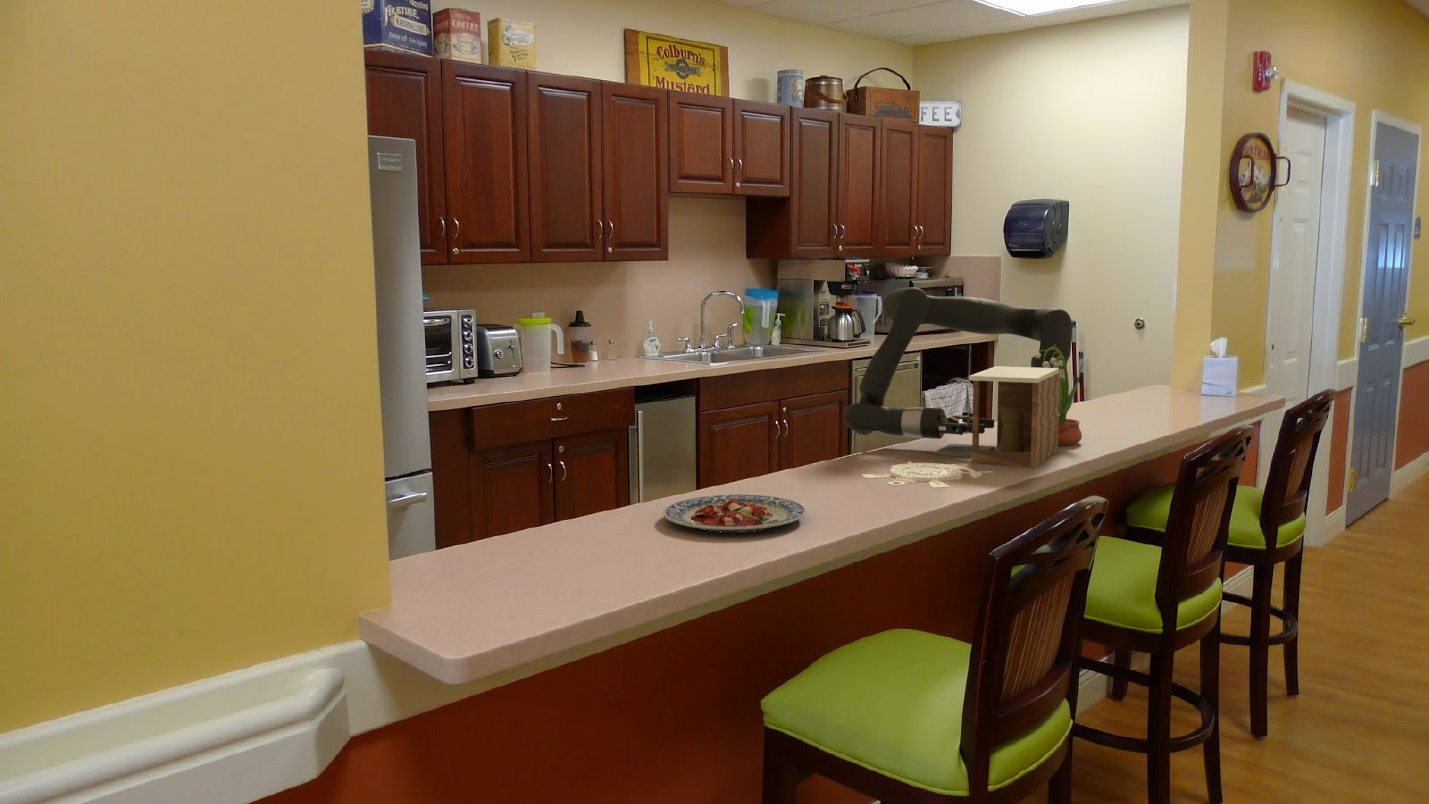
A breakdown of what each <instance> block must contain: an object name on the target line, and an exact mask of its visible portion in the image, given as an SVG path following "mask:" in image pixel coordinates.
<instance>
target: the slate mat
mask: <svg viewBox="0 0 1429 804" xmlns="http://www.w3.org/2000/svg"><path fill="white" fill-rule="evenodd" d="M979 449H981V450H995V446H992V445H980V444H979ZM936 455H938V456H948V457H949V456H951V457H962V458H963V457H965V458H972V444H962V443H948V444H947V445H945V446H942V447H941V448H939V449H936Z"/></svg>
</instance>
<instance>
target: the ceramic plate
mask: <svg viewBox="0 0 1429 804" xmlns="http://www.w3.org/2000/svg"><path fill="white" fill-rule="evenodd" d="M805 514H806V507H805V506H804V505H802V504H800V503H798V502H796V501H794V500H792V499H791V500H790V499H787V498H782V497H776V496H772V495H771V496H770V495H763V494H762V495H761V494H743V493H742V494H741V493H740V494H738V493H737V494H735V493H734V494H733V493H732V494H715V495H714V494H713V495H707V496H706V495H705V496H698V497H692V498H686V499H683V500H679V501H677V502H673V503H672V504H670V505H667V506H666V507H665V508H664V509H663V511H662V515H663V516H664V518H665V519H666V520H667V521H670V522H671V523H675V524H678V525H680V526H684V527H688V528H694V529H697V528H699V529H698V530H701V529H705V530H704V531H706V530H711V531H710V532H712V531H722V532H721V533H725V532H738V533H741V532H740V531H752V532H754V531H753V530H759V531H761V530H760V529H765V530H767V529H766V528H769V529H771V528H770V527H772V528H774V526H775V527H779V526H784V525H786V524H790V523H794V522H795V521H798V520H799V519H801V518H803V517H804V516H805ZM689 519H691V520H693V521H694V523H692V522H691V520H689Z"/></svg>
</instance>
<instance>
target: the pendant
mask: <svg viewBox="0 0 1429 804" xmlns="http://www.w3.org/2000/svg"><path fill="white" fill-rule="evenodd" d="M962 470H965V471H962ZM889 471H890V472H889V473H875V474H874V473H869V474H868V473H867V474H864V473H863V474H861V477H863V478H864V479H866V480H867V479H880V478H881V479H882V478H885V479H886V478H890V477H894V478H892V479H891V481H889V482H887V484H888V485H890V486H896V485H899V486H905V485H906V484H912V485H913V484H916V483H917V482H928V484H929V487H930V488H931V489H946V488H949V489H950V488H951V486H950V485H949V484H947V483H945V482H947V481H955V480H960V479H963V474H968V475H969V476H970V477H972V478H973V479H976V478H979V477H981V476H982V475H983V474H984V473H987V474H988V473H989V474H990V473H993V470H987V471H986V470H985V471H976V470H974V469H972V468H970V467H966V466H963V465H962V466H960V465H957V463H952V464H947V463H946V464H945V463H934V462H912V461H911V460H909V462H907V463H902V462H901V463H900V464H894V465H891V466H890V470H889Z"/></svg>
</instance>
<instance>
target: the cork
mask: <svg viewBox="0 0 1429 804" xmlns="http://www.w3.org/2000/svg"><path fill="white" fill-rule="evenodd" d="M1001 420H1002V422H1003V431H1002V437H1001V444H1000V447H999V450H998V451H1009V452H1023V453H1026V452H1025V449H1024V443H1023V434H1022V425H1021V424H1022V423H1023V421H1024V414H1023V412H1021V411H1019V410H1005V411H1003V413H1002V415H1001Z"/></svg>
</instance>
